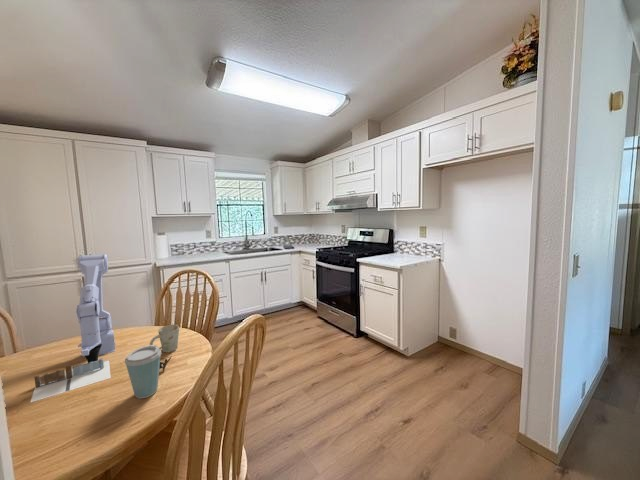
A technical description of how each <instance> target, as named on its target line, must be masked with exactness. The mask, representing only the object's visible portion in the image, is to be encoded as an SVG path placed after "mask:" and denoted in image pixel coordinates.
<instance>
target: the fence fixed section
mask: <svg viewBox="0 0 640 480" xmlns="http://www.w3.org/2000/svg"><path fill="white" fill-rule="evenodd" d="M72 370H73V368H72V365H68V366H66V367H65V369H61V370H56V371H53V372H51V373H44V374H43V375H39V374H38V375H35V376H34V385H35V387H36V388H38V387H40V385H42V384H45V385H48V384H49V382H53V381H57V382H59V381H60V379H64V378H65V372H66V378H67V379H70V378H72ZM35 387H34V388H35Z"/></svg>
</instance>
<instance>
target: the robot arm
mask: <svg viewBox="0 0 640 480" xmlns="http://www.w3.org/2000/svg"><path fill="white" fill-rule="evenodd" d="M77 265H78V269H79V271H80V273H81V274H82V275H84V286H83V287H82V288H81V289H80V295H79V303H78V305H77V306H76V310H75V311H76V317H77V321H78V324H79V329H80V338H81V339H80V341H81V343H79V344H78V345H77V347H78V348H81V351H80V353H81V356H82V357H84V358H85V359H86V361H87V363H90V362H92V361H93V362H94V361H98V360H99V356H102V355H106V354H109V353H114V352H116V341H115V333H114V329H112V326H113V325H112V322H113V321H112V317H111V313H110V312H109V311H106V310H104V306H103V305H104V300H103V299H104V297H103V277H104V274H106V273H108V272H109V271H108V270H109V258H108V255H107V254H106V253H102V254H89V255H87V254H86V255H85V254H84V255H83V254H82V255H79V256H78V258H77Z"/></svg>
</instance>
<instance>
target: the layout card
mask: <svg viewBox="0 0 640 480" xmlns="http://www.w3.org/2000/svg"><path fill="white" fill-rule="evenodd" d="M103 363H104V368H101V369H100V368H99V369H95V370H93V371H88V372H85V373H83V374H78V375H73V369H72V378H70V379H67V378H66V371H64V372H65V378H64V379H60V381H59V382H57V381H53V382H49V384H48V385H45V384H42V385H40V387H38V388H36V387H34V390H33V392H32V395H31V399H30V404H31V403H33V402H37V401H40V400H42V399H46V398H49V397H54V396H57V395H60V394H62V393H63V394H64V393H66V392H69V391H72V390H76V389H79V388H83V387H86V386H89V385H92V384H96V383H99V382H102V381H106V380H109V379H111V377H112V376H111V367H110V360H105V361H103Z"/></svg>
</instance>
